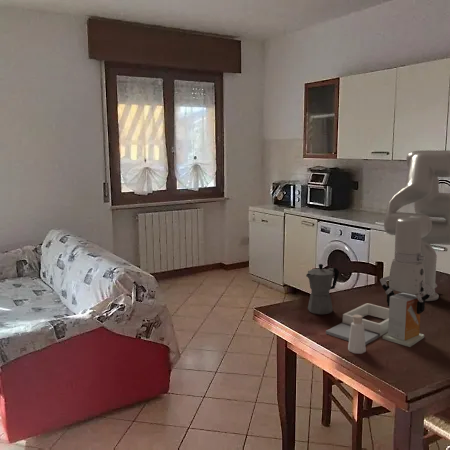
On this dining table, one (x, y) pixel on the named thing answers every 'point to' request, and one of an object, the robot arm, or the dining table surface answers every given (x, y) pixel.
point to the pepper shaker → (357, 336)
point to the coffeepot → (321, 289)
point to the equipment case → (370, 327)
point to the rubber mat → (406, 343)
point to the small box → (403, 316)
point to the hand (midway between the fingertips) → (405, 309)
